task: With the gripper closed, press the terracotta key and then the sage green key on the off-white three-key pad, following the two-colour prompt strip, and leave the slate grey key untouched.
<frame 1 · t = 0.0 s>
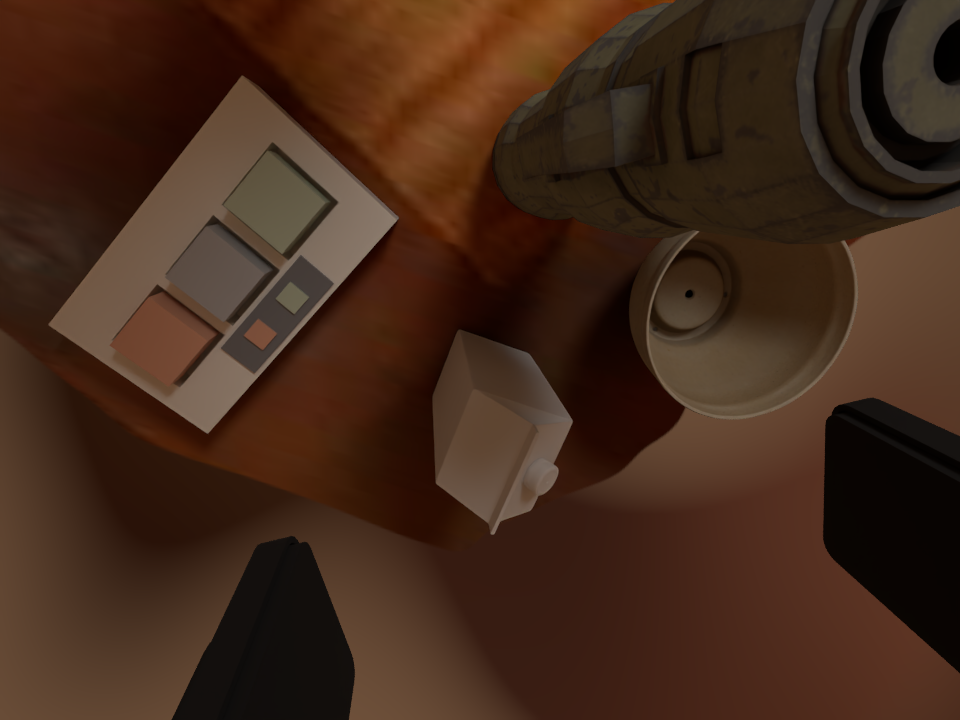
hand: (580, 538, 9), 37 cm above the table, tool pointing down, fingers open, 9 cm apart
milk carton: (480, 374, 48), on the table
thermos: (542, 160, 43), on the table
terracotta key: (166, 338, 40), point 4 cm above the table, slide at 0.0 cm
planter bowl: (681, 290, 47), on the table
grey key: (221, 273, 39), point 4 cm above the table, slide at 0.0 cm
sage key: (279, 203, 38), point 4 cm above the table, slide at 0.0 cm
keypad: (238, 266, 43), on the table
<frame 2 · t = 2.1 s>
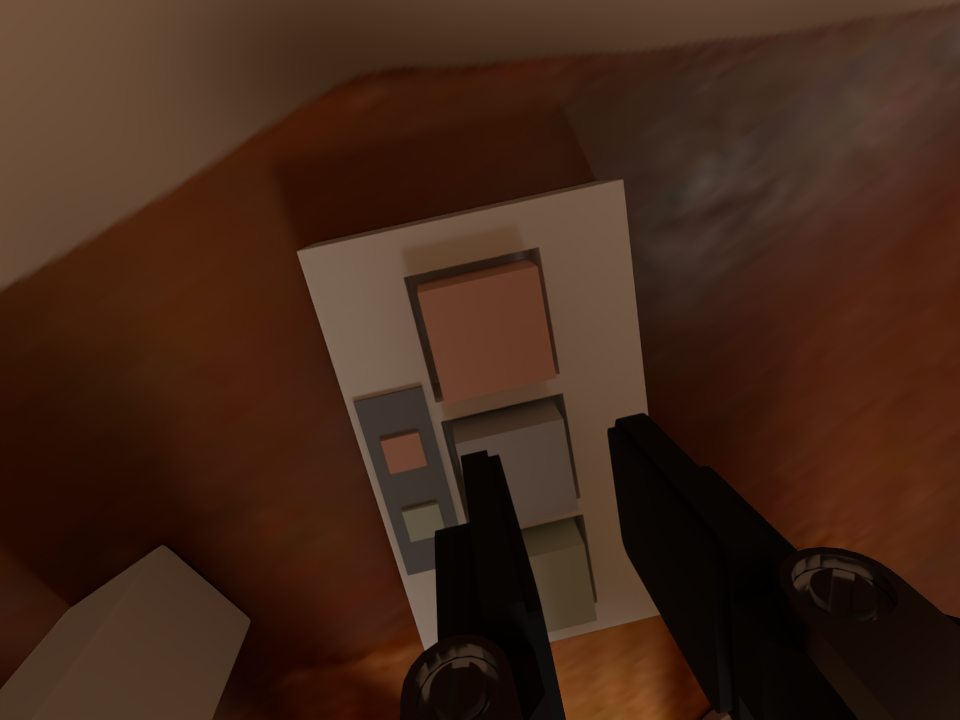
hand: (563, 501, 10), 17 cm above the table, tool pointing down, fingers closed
milk carton: (165, 609, 30), on the table
terracotta key: (486, 329, 23), point 4 cm above the table, slide at 0.0 cm
grey key: (514, 465, 25), point 4 cm above the table, slide at 0.0 cm
sage key: (538, 577, 27), point 4 cm above the table, slide at 0.0 cm
keypad: (503, 430, 29), on the table
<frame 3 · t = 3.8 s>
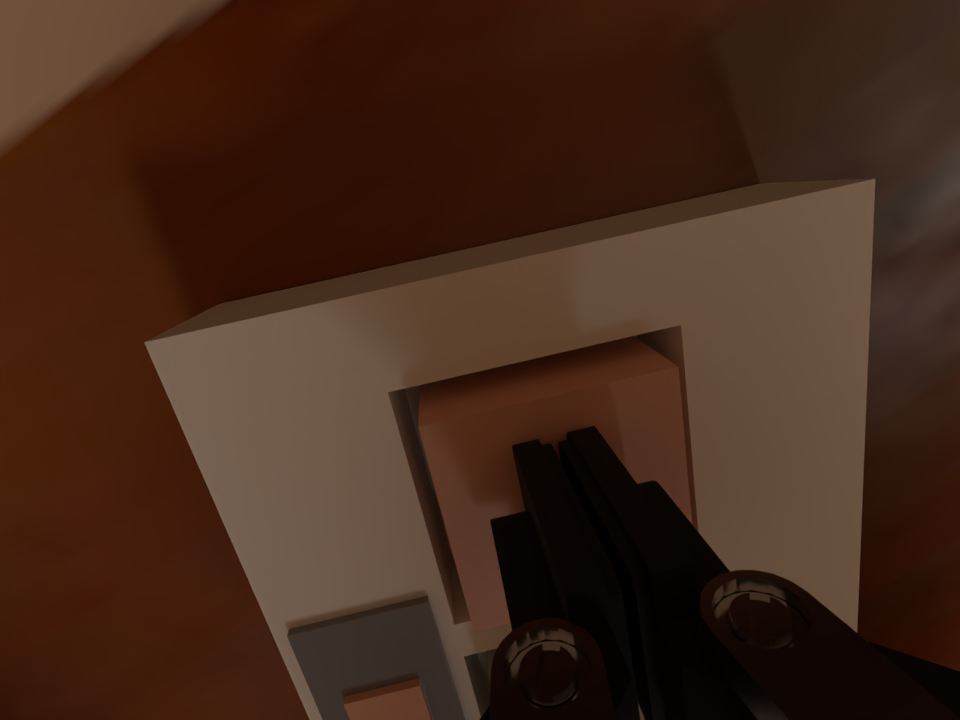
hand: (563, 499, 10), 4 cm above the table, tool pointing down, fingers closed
terracotta key: (554, 476, 12), point 3 cm above the table, slide at 0.8 cm, touching gripper
keypad: (565, 611, 17), on the table
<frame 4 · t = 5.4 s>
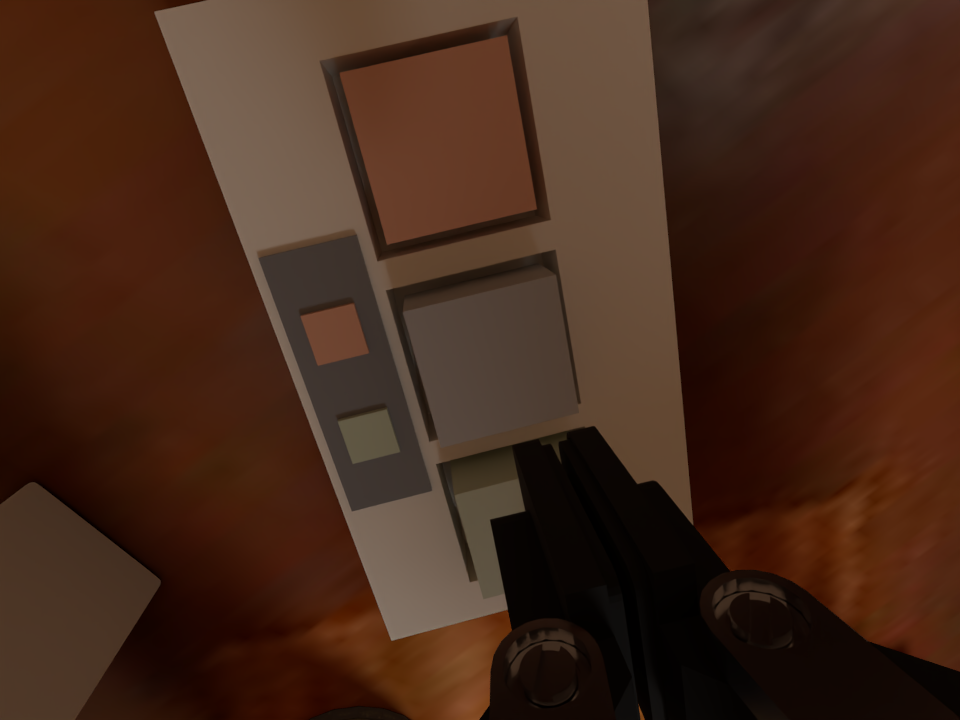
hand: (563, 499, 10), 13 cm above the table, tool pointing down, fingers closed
milk carton: (49, 569, 24), on the table
terracotta key: (442, 147, 17), point 3 cm above the table, slide at 1.2 cm
grey key: (490, 353, 18), point 4 cm above the table, slide at 0.0 cm
sage key: (526, 512, 21), point 4 cm above the table, slide at 0.0 cm
keypad: (478, 325, 22), on the table
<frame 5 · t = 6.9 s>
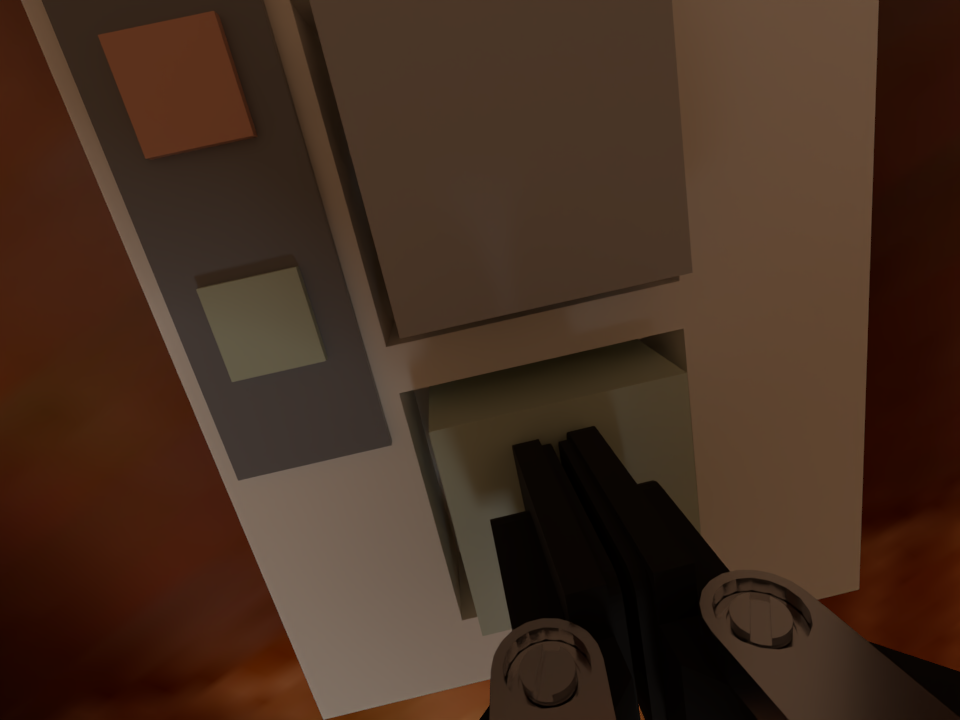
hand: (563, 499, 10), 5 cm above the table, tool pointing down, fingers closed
grey key: (508, 153, 9), point 4 cm above the table, slide at 0.0 cm
sage key: (562, 481, 12), point 3 cm above the table, slide at 0.5 cm, touching gripper
keypad: (485, 166, 13), on the table
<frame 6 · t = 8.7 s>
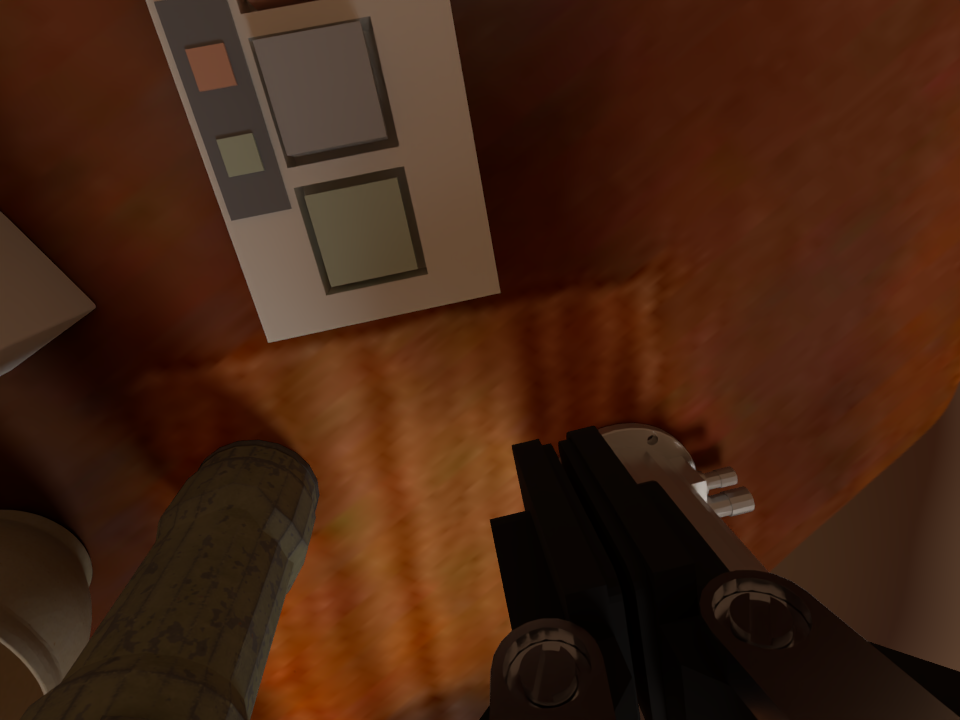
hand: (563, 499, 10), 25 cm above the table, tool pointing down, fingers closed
milk carton: (8, 291, 31), on the table
thermos: (258, 489, 37), on the table
planter bowl: (23, 561, 37), on the table
grey key: (326, 93, 26), point 4 cm above the table, slide at 0.0 cm
sage key: (364, 231, 29), point 3 cm above the table, slide at 1.2 cm
keypad: (336, 103, 29), on the table
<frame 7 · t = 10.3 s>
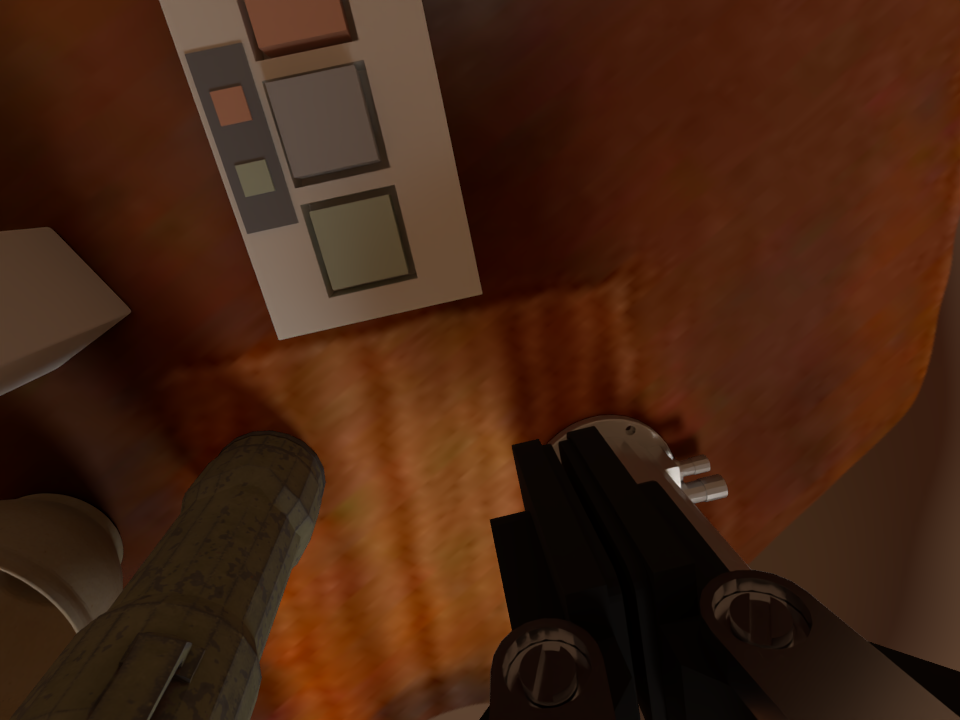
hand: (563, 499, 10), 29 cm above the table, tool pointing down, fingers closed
milk carton: (57, 298, 36), on the table
thermos: (271, 477, 41), on the table
planter bowl: (63, 541, 41), on the table
grey key: (327, 125, 30), point 4 cm above the table, slide at 0.0 cm
sage key: (362, 241, 34), point 3 cm above the table, slide at 1.2 cm
keypad: (337, 132, 34), on the table
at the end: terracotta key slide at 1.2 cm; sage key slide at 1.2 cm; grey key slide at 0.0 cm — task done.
